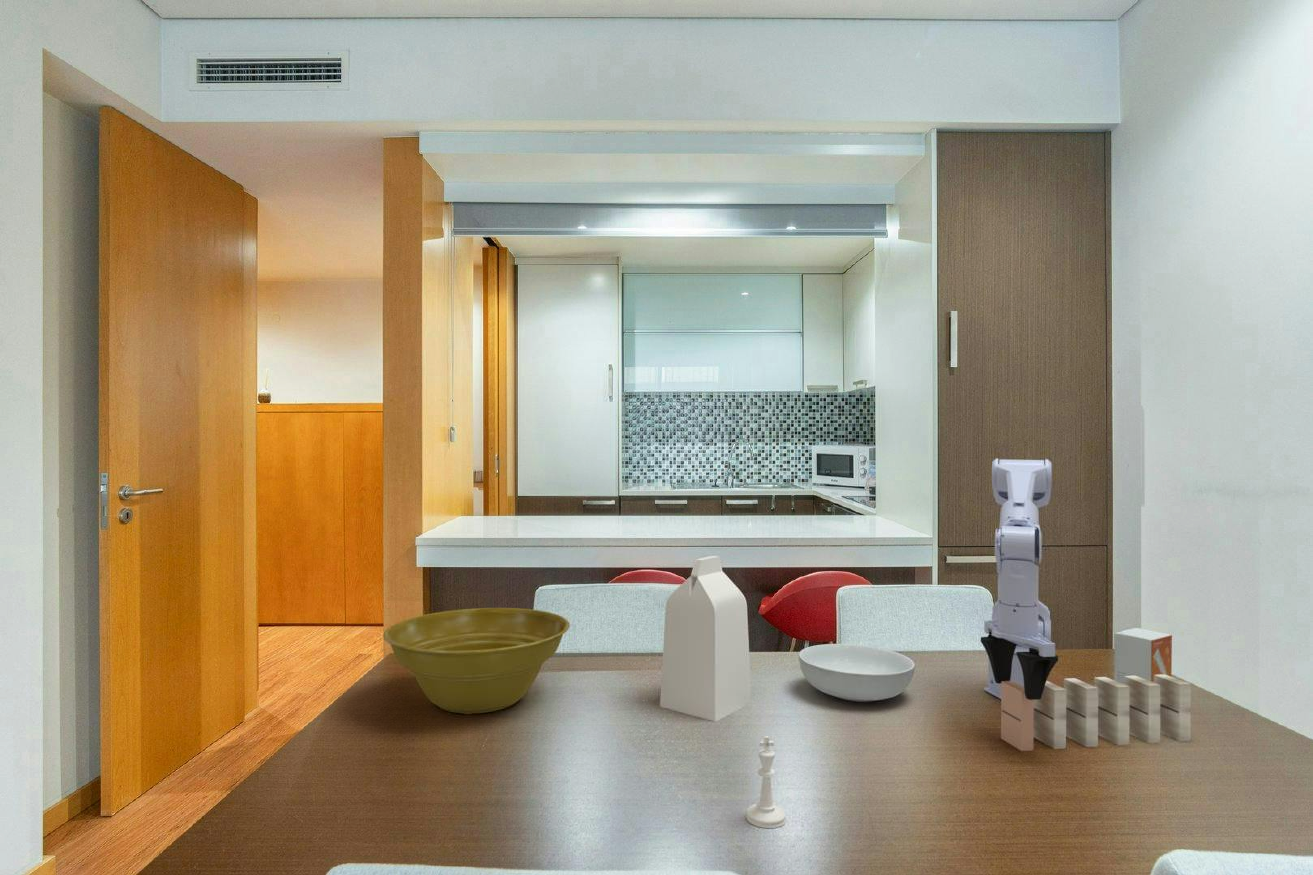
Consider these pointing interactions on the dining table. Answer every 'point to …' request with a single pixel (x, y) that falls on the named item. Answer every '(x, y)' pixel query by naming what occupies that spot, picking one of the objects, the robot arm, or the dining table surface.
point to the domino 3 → (1113, 710)
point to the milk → (706, 645)
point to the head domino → (1016, 716)
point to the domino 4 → (1144, 709)
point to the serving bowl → (856, 671)
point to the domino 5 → (1174, 707)
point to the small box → (1142, 654)
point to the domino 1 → (1051, 716)
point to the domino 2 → (1081, 712)
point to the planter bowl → (476, 654)
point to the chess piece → (766, 794)
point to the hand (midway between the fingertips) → (1017, 690)
